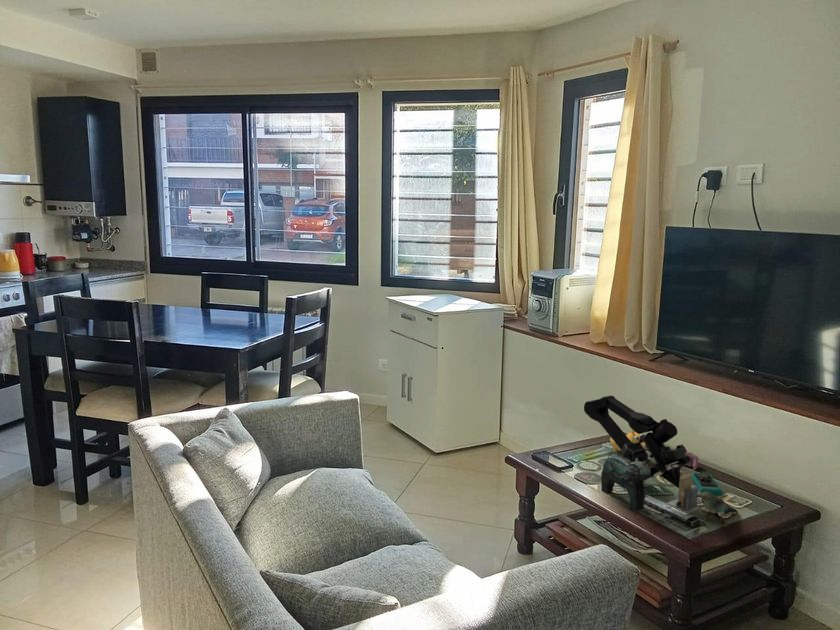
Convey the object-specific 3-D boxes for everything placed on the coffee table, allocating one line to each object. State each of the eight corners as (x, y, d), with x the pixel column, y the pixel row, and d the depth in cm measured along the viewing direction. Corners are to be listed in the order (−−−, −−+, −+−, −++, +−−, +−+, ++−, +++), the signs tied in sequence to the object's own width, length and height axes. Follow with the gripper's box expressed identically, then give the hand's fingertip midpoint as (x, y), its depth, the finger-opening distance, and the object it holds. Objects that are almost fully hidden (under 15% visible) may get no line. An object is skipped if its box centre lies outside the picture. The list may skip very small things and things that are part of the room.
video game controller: (697, 471, 257) (700, 454, 258) (696, 470, 253) (698, 452, 254) (671, 466, 262) (674, 449, 263) (669, 465, 258) (672, 448, 260)
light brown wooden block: (674, 505, 222) (676, 478, 220) (685, 501, 225) (687, 474, 223) (680, 508, 220) (682, 481, 218) (691, 504, 223) (693, 477, 221)
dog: (639, 466, 258) (641, 436, 255) (603, 449, 275) (605, 421, 273) (653, 463, 261) (655, 433, 259) (617, 446, 279) (619, 418, 276)
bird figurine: (721, 504, 224) (707, 464, 216) (748, 516, 216) (734, 476, 208) (698, 530, 220) (683, 491, 211) (725, 544, 212) (710, 504, 203)
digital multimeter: (710, 479, 247) (710, 472, 246) (722, 497, 232) (722, 489, 232) (690, 478, 248) (690, 471, 247) (701, 496, 233) (701, 488, 233)
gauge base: (666, 506, 225) (667, 484, 223) (679, 501, 228) (681, 479, 227) (684, 514, 218) (686, 492, 217) (697, 509, 222) (699, 487, 221)
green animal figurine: (649, 510, 221) (653, 456, 218) (635, 514, 219) (639, 459, 215) (609, 487, 239) (612, 437, 235) (595, 491, 236) (598, 440, 233)
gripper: (654, 443, 220) (680, 485, 213) (688, 433, 230) (714, 473, 222) (634, 457, 228) (658, 498, 221) (668, 447, 238) (692, 485, 230)
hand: (681, 488), depth 223 cm, fingers closed
